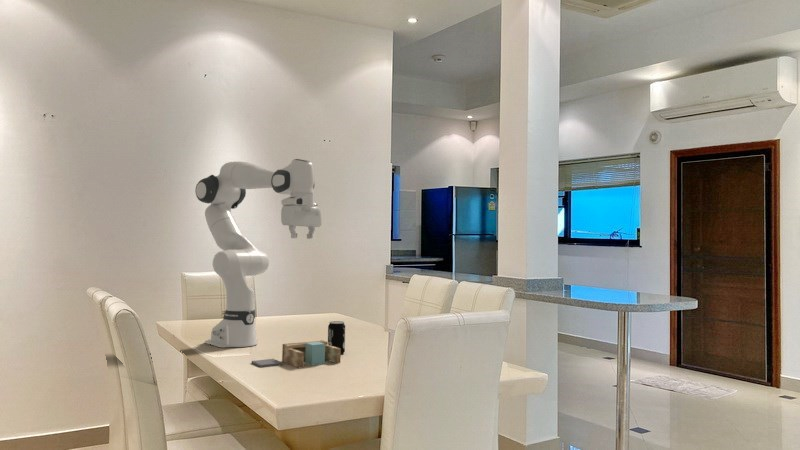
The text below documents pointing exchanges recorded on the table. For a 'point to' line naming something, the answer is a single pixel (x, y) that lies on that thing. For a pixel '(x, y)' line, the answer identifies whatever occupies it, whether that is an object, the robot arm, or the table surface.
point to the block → (315, 353)
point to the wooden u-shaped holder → (296, 353)
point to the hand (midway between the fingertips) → (302, 238)
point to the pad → (267, 362)
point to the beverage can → (337, 335)
